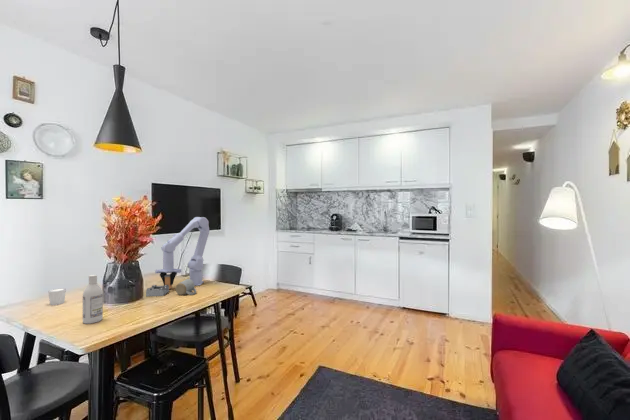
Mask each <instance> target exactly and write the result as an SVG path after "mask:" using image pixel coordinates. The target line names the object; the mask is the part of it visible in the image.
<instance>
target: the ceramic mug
mask: <svg viewBox="0 0 630 420" xmlns="http://www.w3.org/2000/svg"><path fill="white" fill-rule="evenodd" d="M195 286H196V285H194V282H193V281H192V280H190V278H187V279H184V280H182V281H179V283H177V284H176V286H175V292H176V294H177V295H180V296H183V295H186V294H187V295H189V296H193V295H195V294H196V293H197V289H196V288H195Z"/></svg>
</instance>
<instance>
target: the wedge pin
mask: <svg viewBox="0 0 630 420" xmlns="http://www.w3.org/2000/svg"><path fill="white" fill-rule="evenodd" d="M170 274H171V273H167V274H166V275H165V276H164V277H165V285H168V286H169V290H170V289H171V288H173V285H171V278H170Z"/></svg>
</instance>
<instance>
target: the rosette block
mask: <svg viewBox="0 0 630 420" xmlns="http://www.w3.org/2000/svg"><path fill="white" fill-rule="evenodd" d="M169 292H170V289H169V286H168V285H164V284H163V285H157V284H152V285H151V287H147V288H146V290H145V297H164V296H165V295H166V294H167V293H169Z"/></svg>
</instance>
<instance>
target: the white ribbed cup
mask: <svg viewBox="0 0 630 420" xmlns="http://www.w3.org/2000/svg"><path fill="white" fill-rule="evenodd" d="M66 291H67V290H66V288H64V287H63V288H53V289H50V290H48V300H49V301H48V302H49V306H57V305H62V304H65V301H66V300H65V299H66Z"/></svg>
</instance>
